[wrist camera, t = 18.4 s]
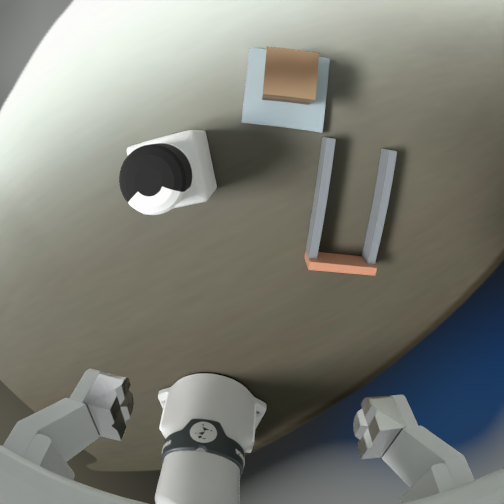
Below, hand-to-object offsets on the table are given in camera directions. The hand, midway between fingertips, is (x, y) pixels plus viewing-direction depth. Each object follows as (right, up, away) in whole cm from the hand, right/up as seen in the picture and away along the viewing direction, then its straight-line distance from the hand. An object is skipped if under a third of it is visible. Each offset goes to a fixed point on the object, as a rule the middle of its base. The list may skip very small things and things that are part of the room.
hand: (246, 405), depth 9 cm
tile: (+4, +23, +22) cm, 32 cm away
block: (+4, +24, +21) cm, 32 cm away
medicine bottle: (-8, +15, +26) cm, 31 cm away
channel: (+12, +11, +27) cm, 31 cm away
